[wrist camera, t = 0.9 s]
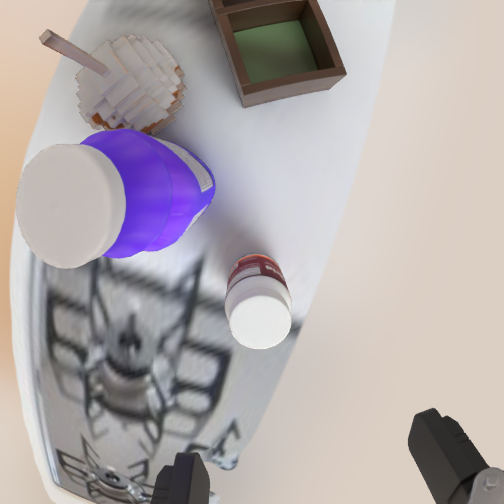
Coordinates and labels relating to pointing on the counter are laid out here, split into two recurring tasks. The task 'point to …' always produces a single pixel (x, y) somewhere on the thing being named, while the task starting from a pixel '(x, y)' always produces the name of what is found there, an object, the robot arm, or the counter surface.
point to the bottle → (110, 197)
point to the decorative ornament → (125, 83)
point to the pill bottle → (258, 302)
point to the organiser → (277, 48)
